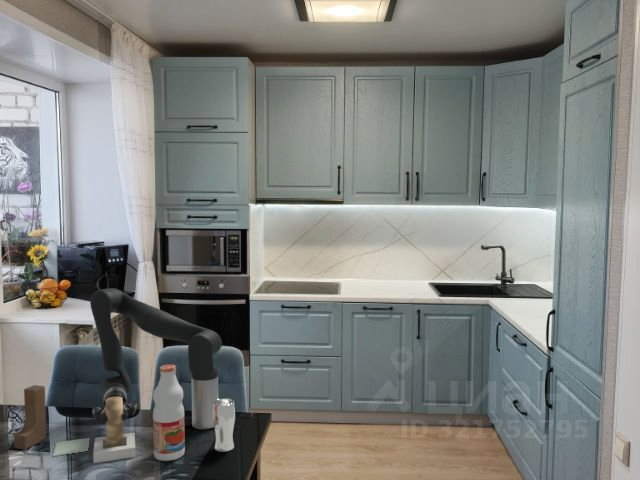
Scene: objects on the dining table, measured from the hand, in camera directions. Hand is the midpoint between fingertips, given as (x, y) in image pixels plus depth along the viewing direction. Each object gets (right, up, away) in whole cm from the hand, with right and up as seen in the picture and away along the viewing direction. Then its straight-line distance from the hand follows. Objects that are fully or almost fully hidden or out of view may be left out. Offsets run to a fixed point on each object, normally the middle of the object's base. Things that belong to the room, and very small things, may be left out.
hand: (114, 418), depth 168 cm
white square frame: (-1, -11, +3) cm, 12 cm away
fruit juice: (+17, -12, +1) cm, 21 cm away
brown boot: (-31, -11, +9) cm, 34 cm away
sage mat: (-16, -11, +6) cm, 20 cm away
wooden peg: (-1, -8, +2) cm, 9 cm away
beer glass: (+33, -11, +6) cm, 36 cm away
